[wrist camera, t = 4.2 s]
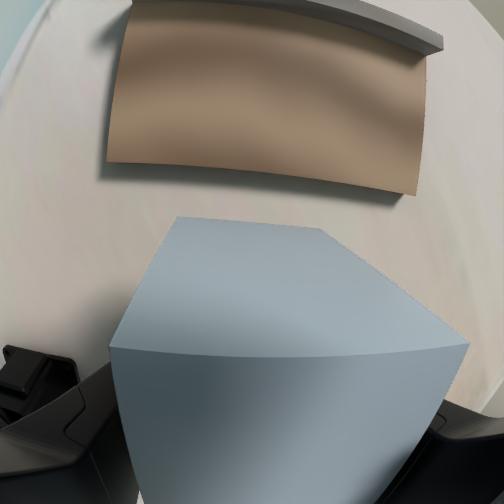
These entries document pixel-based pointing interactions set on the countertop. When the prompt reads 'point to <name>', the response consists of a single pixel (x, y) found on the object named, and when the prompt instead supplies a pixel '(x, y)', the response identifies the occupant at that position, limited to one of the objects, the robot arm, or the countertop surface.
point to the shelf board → (274, 89)
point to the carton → (273, 369)
